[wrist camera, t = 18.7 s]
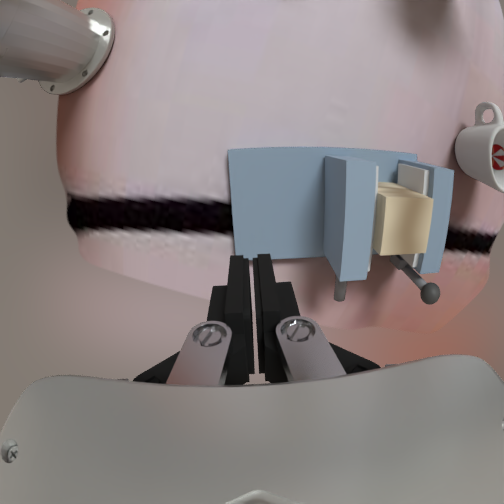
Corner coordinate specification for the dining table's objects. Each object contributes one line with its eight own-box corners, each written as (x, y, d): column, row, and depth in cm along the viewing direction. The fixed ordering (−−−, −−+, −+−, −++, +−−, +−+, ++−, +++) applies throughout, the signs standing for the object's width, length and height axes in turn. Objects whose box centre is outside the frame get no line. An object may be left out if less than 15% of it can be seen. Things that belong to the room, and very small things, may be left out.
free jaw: (320, 283, 31) (335, 317, 25) (324, 155, 25) (346, 160, 19) (346, 281, 31) (365, 314, 24) (354, 156, 25) (382, 162, 19)
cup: (445, 96, 22) (486, 93, 15) (482, 109, 22) (521, 111, 15) (446, 177, 27) (487, 191, 19) (482, 182, 26) (520, 196, 19)
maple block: (350, 225, 28) (380, 255, 21) (353, 180, 26) (386, 197, 19) (389, 225, 28) (425, 252, 21) (393, 182, 26) (433, 199, 19)
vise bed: (238, 272, 32) (231, 327, 23) (228, 149, 27) (214, 154, 17) (400, 263, 31) (441, 306, 22) (411, 153, 26) (468, 165, 16)
